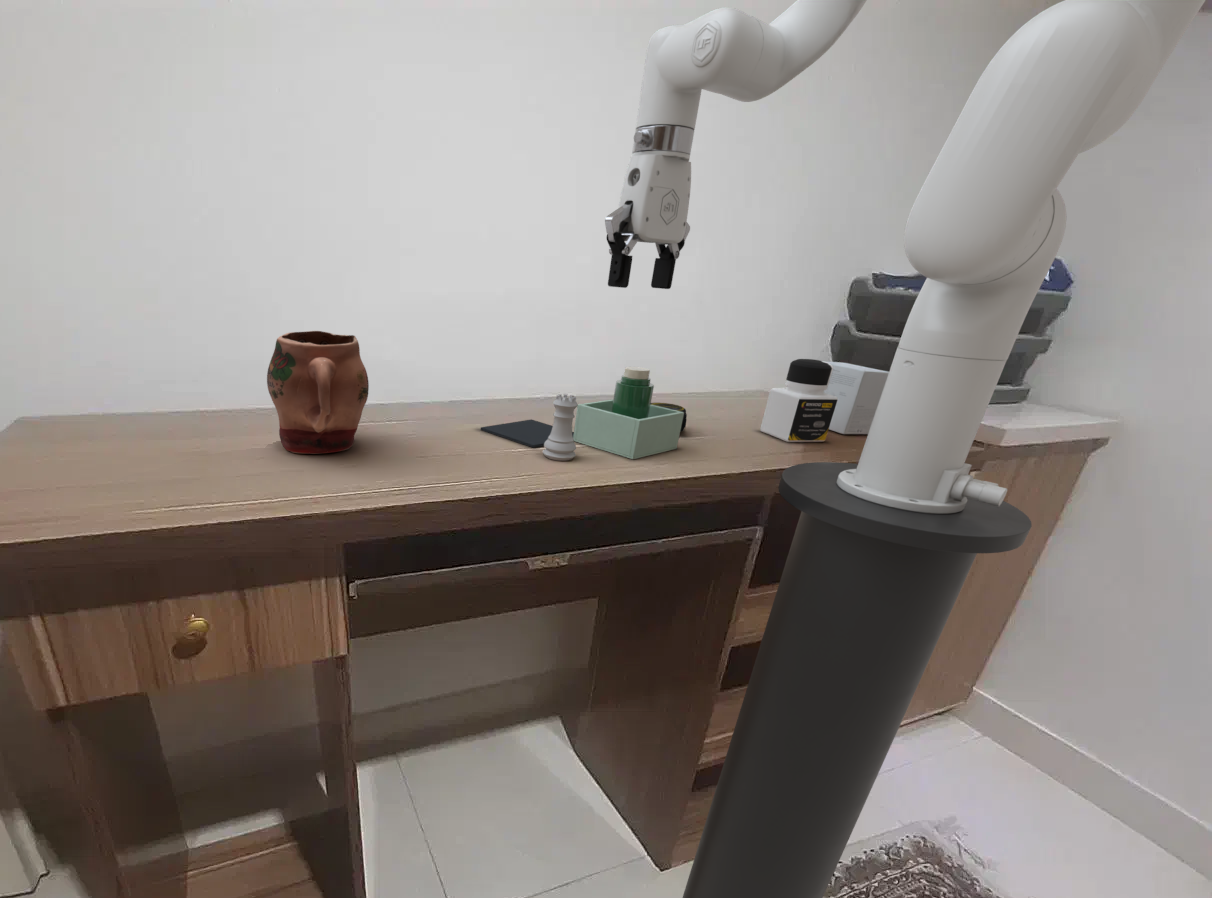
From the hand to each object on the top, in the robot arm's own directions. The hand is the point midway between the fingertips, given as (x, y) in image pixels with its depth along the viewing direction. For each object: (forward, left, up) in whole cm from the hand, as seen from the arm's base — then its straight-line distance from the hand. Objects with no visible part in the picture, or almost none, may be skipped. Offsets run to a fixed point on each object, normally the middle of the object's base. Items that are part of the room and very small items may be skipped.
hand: (639, 287), depth 92 cm
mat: (+5, +14, -21) cm, 26 cm away
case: (-6, +6, -21) cm, 22 cm away
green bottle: (-6, +6, -21) cm, 22 cm away
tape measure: (-4, -7, -21) cm, 22 cm away
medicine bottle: (-17, -24, -21) cm, 36 cm away
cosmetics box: (-18, -39, -21) cm, 48 cm away
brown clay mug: (+13, +45, -21) cm, 51 cm away
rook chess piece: (-5, +19, -21) cm, 29 cm away
